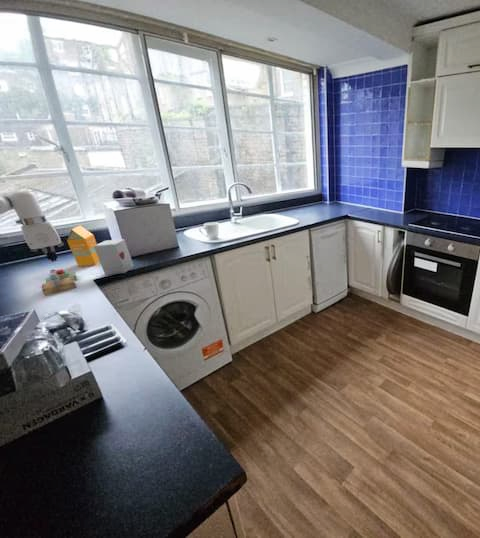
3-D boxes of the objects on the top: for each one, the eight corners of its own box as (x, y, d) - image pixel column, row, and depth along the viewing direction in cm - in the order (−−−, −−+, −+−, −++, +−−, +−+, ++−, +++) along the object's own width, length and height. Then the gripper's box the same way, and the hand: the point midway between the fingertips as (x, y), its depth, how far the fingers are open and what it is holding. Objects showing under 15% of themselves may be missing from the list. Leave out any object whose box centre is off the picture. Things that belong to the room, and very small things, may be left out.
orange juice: (103, 259, 163) (89, 224, 155) (96, 265, 155) (80, 228, 147) (86, 261, 161) (71, 225, 153) (78, 267, 153) (61, 230, 145)
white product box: (124, 273, 143) (113, 244, 137) (104, 275, 142) (92, 245, 136) (134, 266, 151) (124, 238, 145) (115, 268, 150) (104, 240, 144)
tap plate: (43, 297, 122) (39, 290, 121) (43, 289, 129) (39, 283, 128) (78, 288, 129) (75, 281, 128) (76, 281, 136) (73, 274, 135)
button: (54, 276, 133) (52, 273, 132) (54, 274, 135) (52, 271, 135) (64, 274, 135) (63, 270, 135) (64, 272, 137) (62, 268, 137)
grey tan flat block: (60, 284, 126) (55, 273, 124) (55, 285, 125) (49, 274, 123) (60, 279, 131) (54, 269, 129) (55, 281, 130) (49, 270, 128)
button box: (48, 287, 131) (44, 279, 130) (47, 282, 136) (44, 274, 134) (77, 280, 138) (74, 272, 136) (76, 275, 142) (73, 268, 141)
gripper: (7, 226, 118) (30, 267, 126) (58, 218, 128) (76, 257, 135) (9, 223, 123) (31, 263, 131) (57, 216, 133) (75, 254, 140)
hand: (54, 260), depth 133 cm, fingers closed
